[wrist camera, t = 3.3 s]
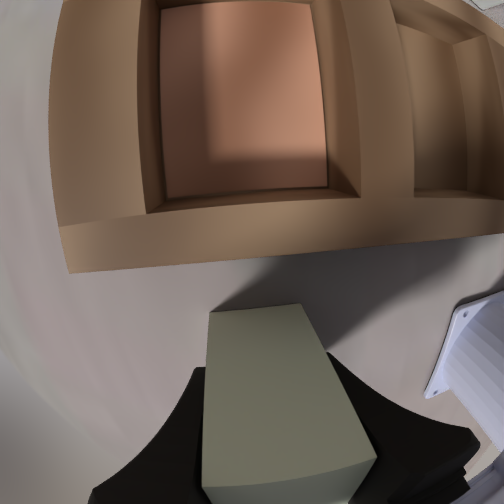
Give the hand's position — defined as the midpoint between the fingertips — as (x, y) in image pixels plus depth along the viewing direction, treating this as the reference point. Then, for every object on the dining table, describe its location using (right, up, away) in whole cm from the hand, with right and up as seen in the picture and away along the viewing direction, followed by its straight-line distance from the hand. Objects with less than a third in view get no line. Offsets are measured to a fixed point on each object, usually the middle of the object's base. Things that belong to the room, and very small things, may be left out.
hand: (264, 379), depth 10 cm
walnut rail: (+3, +12, -1) cm, 12 cm away
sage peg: (0, +1, +2) cm, 2 cm away
